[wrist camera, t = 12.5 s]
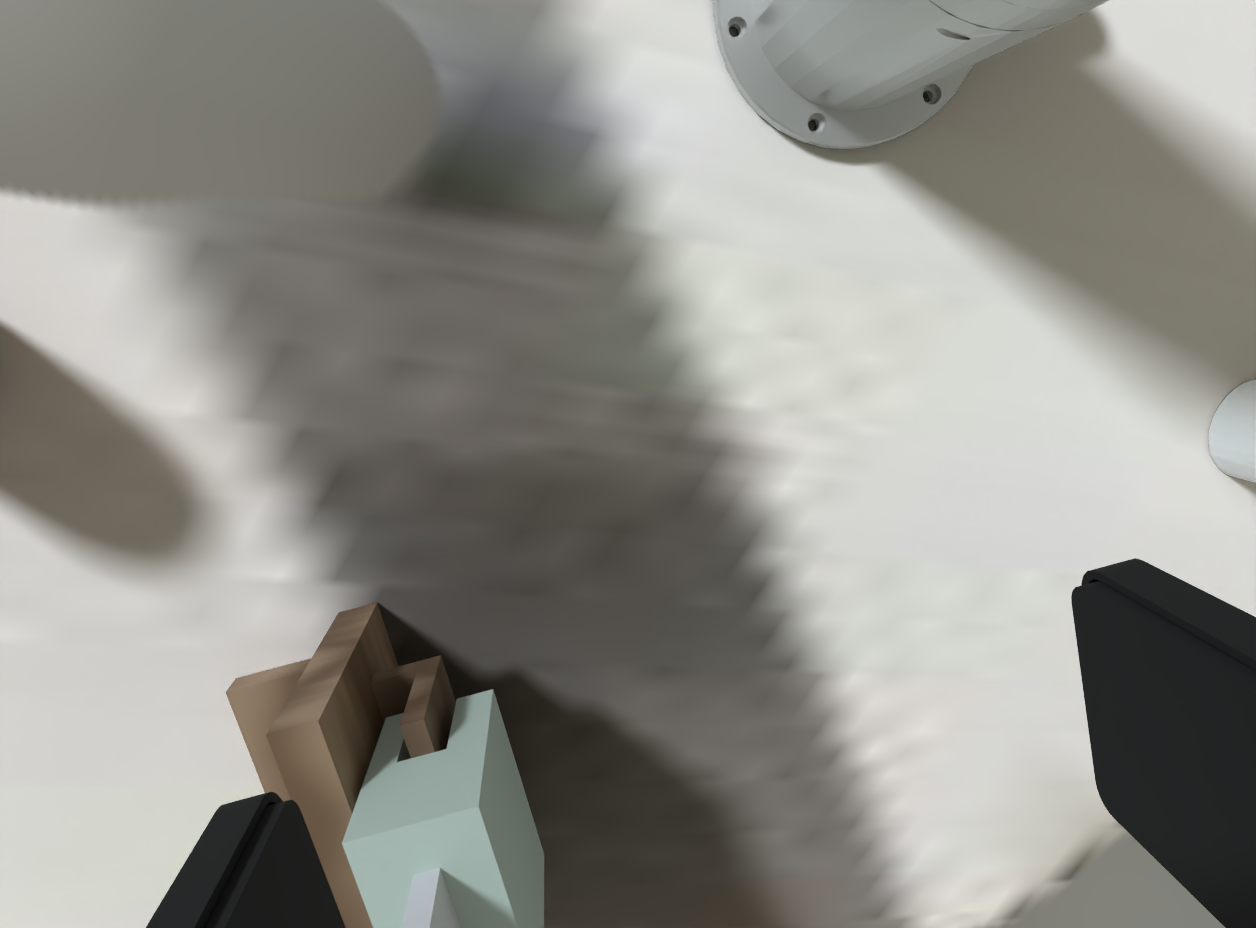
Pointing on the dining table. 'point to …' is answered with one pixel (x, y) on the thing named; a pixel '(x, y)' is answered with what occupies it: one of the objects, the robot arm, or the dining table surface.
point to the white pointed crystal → (1235, 433)
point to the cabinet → (447, 830)
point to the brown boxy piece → (339, 730)
